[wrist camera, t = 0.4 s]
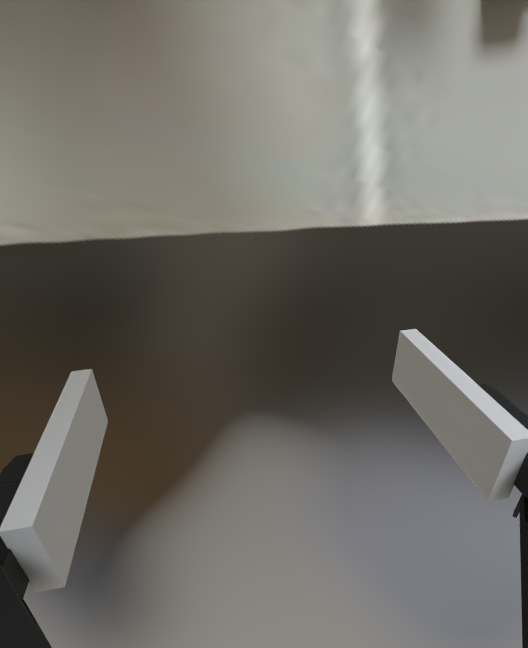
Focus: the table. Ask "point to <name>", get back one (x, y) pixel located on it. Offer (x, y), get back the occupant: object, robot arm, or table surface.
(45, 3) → the table surface
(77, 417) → the robot arm
